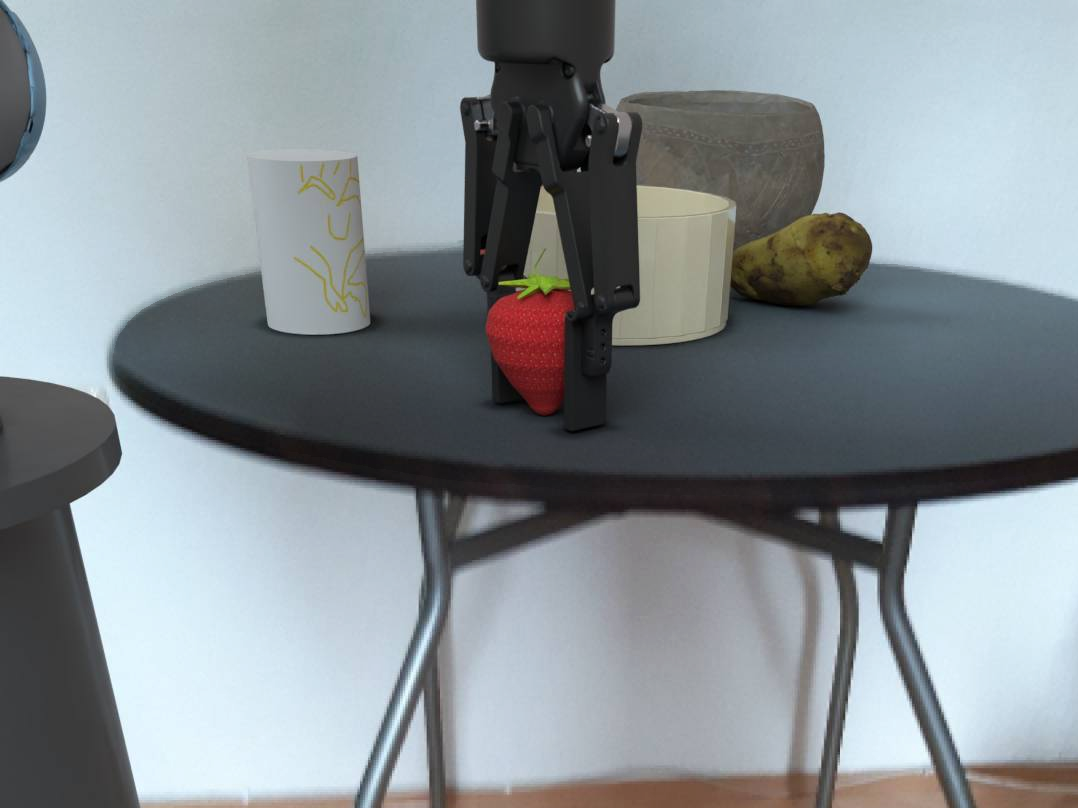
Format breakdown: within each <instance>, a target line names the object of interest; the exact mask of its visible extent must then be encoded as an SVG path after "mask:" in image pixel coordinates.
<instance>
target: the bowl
mask: <svg viewBox="0 0 1078 808" xmlns="http://www.w3.org/2000/svg"><path fill="white" fill-rule="evenodd" d="M615 110H616V111H618V112H637V113H638V114H639V115H640V117H641V119H642V132H641V137H640V143H639V148H638V154H637V159H636V178H637V185H644V186H658V187H670V188H679V189H688V190H694V191H700V192H706V193H711V194H716V195H719V196H723V197H727V198H729V199H731V200H733V201H735V202H736V218H735V230H734V243H733V252H734V251H735V250H736V249H737V248H739V247H741V246H743V245H745V244H747V243H749V242H752V241H754V240H757V239H761V238H763V237H766V236H767V235H771V234H773V233H775V232H777V231H779V230H781V229H783V228H785V227H787V226H788V225H790V224H792V223H793V222H794V221H796V220H798V219H800V218H802V217H805V216H808V215H813V213H814V211H815V208H816V206H817V203H818V201H819V198H820V195H821V191H822V187H823V180H824V173H825V164H826V163H825V159H826V158H825V157H826V154H825V138H824V137H825V136H824V131H823V129H824V128H823V125H822V119H821V116H820V113H819V112H818V109H817V108H816V106H815V105H814V103H812V102H810V101H808V100H804V99H801V98H797V97H792V96H788V95H784V94H779V93H770V92H769V93H767V92H756V91H745V90H724V89H723V90H720V89H717V90H716V89H710V90H709V89H708V90H688V91H685V90H668V91H667V90H666V91H642V92H638V93H633V94H630V95H627V96H625V97H622V98H620V100H619V102H618V104H617V106H616V109H615Z"/></svg>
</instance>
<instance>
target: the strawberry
mask: <svg viewBox="0 0 1078 808" xmlns="http://www.w3.org/2000/svg"><path fill="white" fill-rule="evenodd" d="M545 250H546V248H545V249H544V250H543V252H542V253H541V255H540V257H539V259H538V260H537V262H536V264H535V266H534V268H535V272H536V275H535V274H529V273H528V278H529V279H523V280H514V281H504V282H499V285H504V286H510V287H519V288H526V289H524V290H522V291H519V292H516V293H514V294H511V295H508V296H505V297H502V298H500V299H499V300H498V301H497V302H496V303H495V304H494V305H493V307H492V308H491V309H490V310H489V312H488V316H487V318H486V319H487V320H486V322H485V323H486V325H485V333H486V337H487V340H488V343H489V348H490V351H491V350H492V354H493V357H494V359H495V361H496V362H497V364H498V365H499V367H500V368H501V370H502V371H503V373H504V374H505V376H506V377H507V379H508V380H509V382H510V383H511V385H512V386H513V387H514V388H515V389H516V390H517V391H518V392H519V393H520V394H521V396H522V397H523V398H522V399H524V401H526V403H527V404H528V405H529V408H530V409H531V410H532V411H533V412H534V413H536V414H538V415H540V416H545V417H546V416H549V415H552V414H553V413H555V412H556V411H557V410H558V409H559V408H560V407H561V405H562V403H563V402H564V371H565V317H566V315H565V312H568V311H570V310H573V309H574V304H573V299H572V294H571V291H569V290H571V289H570V284H569V279H558V277H553V276H541V275H538V272H537V269H536V266H537V264H538V262H539V260H540V259H541V257H542V255H543V254H544V252H545Z"/></svg>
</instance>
